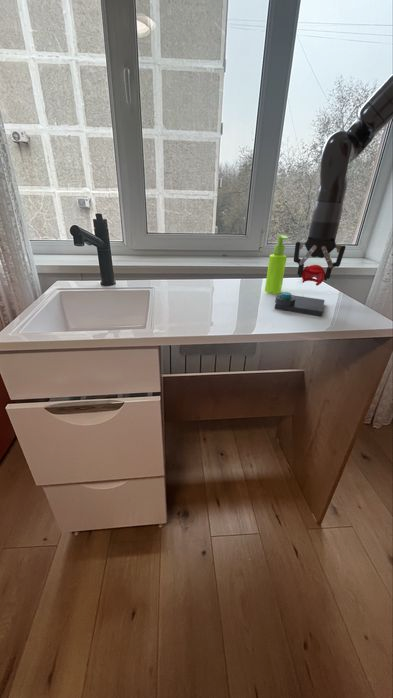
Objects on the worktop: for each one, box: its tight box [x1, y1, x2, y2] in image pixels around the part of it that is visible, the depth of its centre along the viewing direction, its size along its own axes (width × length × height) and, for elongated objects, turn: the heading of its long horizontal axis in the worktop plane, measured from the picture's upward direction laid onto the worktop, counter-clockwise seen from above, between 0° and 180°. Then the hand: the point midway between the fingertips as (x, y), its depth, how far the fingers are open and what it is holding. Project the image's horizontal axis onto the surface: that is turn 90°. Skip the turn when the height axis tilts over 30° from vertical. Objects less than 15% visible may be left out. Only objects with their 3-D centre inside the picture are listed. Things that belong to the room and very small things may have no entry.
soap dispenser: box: [264, 234, 289, 295], centre depth 102 cm, size 6×7×20 cm
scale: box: [274, 294, 326, 318], centre depth 92 cm, size 14×12×4 cm
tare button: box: [280, 291, 292, 300], centre depth 90 cm, size 3×3×2 cm
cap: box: [301, 264, 326, 287], centre depth 88 cm, size 8×6×6 cm
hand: (312, 278), depth 89 cm, fingers closed on cap, 7 cm apart
